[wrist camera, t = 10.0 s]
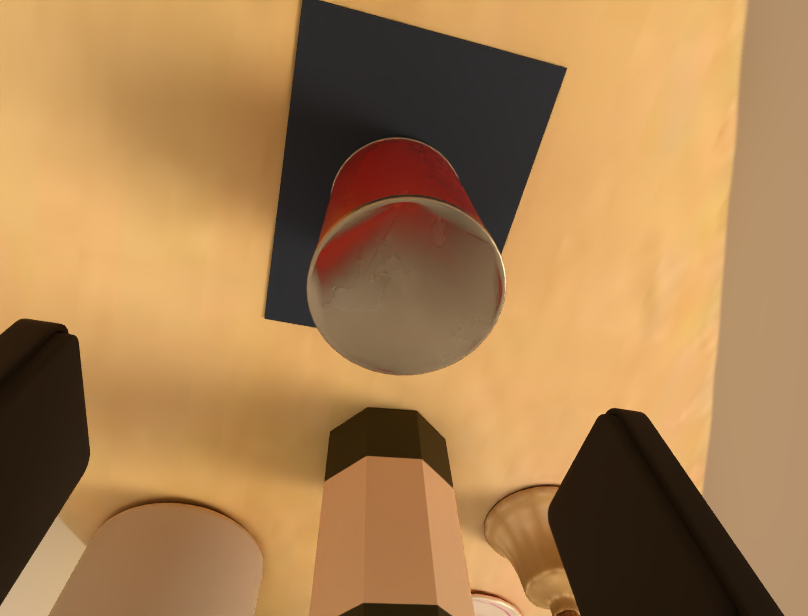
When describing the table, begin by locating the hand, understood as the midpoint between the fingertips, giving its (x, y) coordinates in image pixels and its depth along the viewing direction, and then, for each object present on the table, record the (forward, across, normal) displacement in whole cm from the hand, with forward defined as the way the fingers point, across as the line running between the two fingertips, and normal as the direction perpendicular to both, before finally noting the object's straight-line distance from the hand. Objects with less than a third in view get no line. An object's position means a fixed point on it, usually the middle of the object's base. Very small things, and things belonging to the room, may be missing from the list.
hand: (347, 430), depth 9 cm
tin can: (+18, -2, +1) cm, 18 cm away
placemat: (+18, -2, +1) cm, 18 cm away
